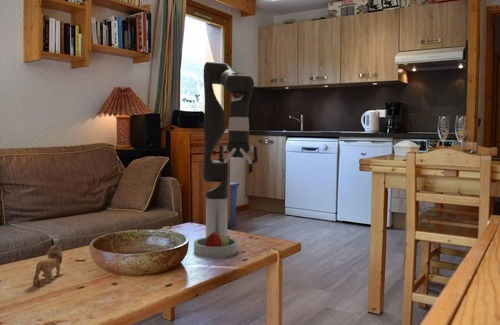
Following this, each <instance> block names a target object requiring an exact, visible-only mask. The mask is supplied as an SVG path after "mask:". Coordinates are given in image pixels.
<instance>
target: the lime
mask: <svg viewBox="0 0 500 325" xmlns="http://www.w3.org/2000/svg"><path fill="white" fill-rule="evenodd" d="M228 238H229V237H225V236H220V239H221V246H228V245H229V240H228Z"/></svg>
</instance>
